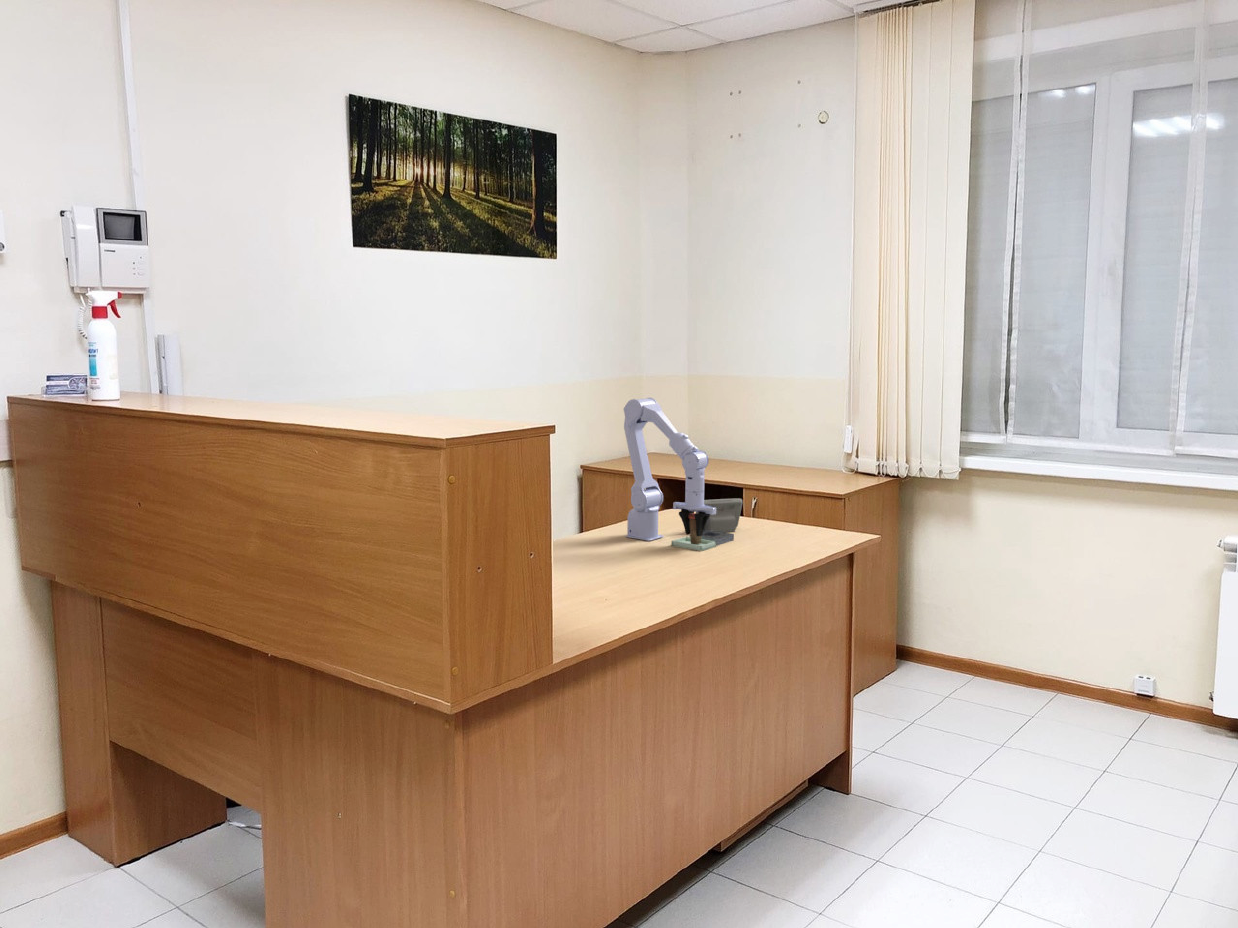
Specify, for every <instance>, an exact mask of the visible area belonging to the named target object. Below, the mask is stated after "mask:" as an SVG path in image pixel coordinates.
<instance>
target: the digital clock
mask: <svg viewBox="0 0 1238 928" xmlns="http://www.w3.org/2000/svg"><path fill="white" fill-rule="evenodd" d="M704 505H707V506H710V507H715V508H716V514H714V515H710V516H709V518H708V520H707V522H706V524H705V527H704V530H713V531H719V532H725V533H735V532H736V528H738V526H739V521H740V517H741V511H742V507H743V499H742V498H737V497H736V498H720V499H719V498H718V499H704ZM695 513H699V512H695ZM704 530H703V531H704Z"/></svg>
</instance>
